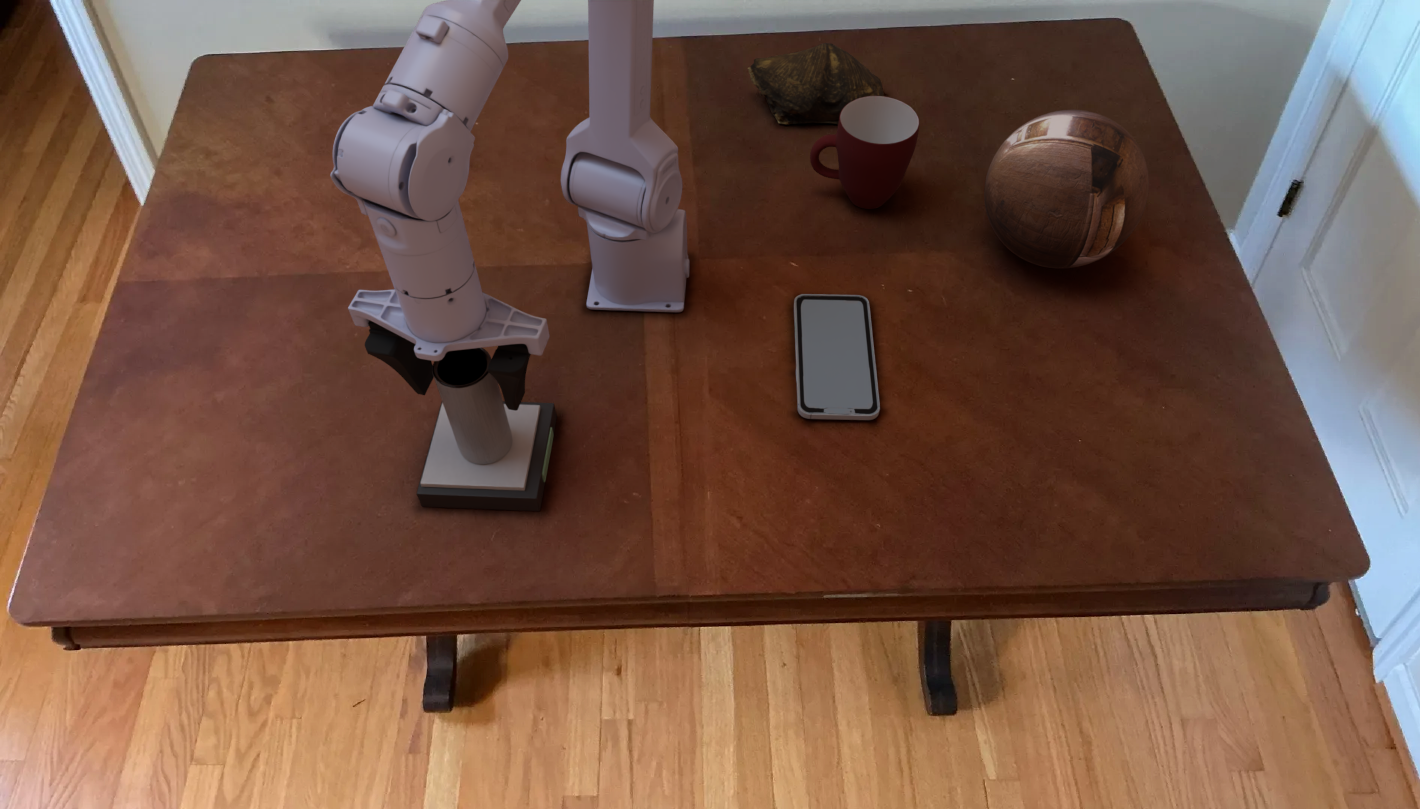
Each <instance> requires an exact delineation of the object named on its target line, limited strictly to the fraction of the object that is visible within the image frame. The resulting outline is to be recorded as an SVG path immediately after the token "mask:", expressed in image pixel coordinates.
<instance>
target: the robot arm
mask: <svg viewBox="0 0 1420 809" xmlns="http://www.w3.org/2000/svg"><path fill="white" fill-rule="evenodd" d="M521 2H522V0H441V1H437V2H433V3H431V4H429V5H427V6H426V7H425V8H424V9H423V11H422V13H421V15H420V17H419V19H418V20H417V22H416V24H415V26H414V28H413V30H412V31H411V34H410V36H409V37H408V39H407V41H406V43H405V45H404V46H403V49H402V51H401V52H400V54H399V56H398V58H397V60H396V62H395V64H394V65H393V67H392V69H391V71H390V72H389V75H388V77H387V79H386V81H385V82H384V84H383V86H382V88H381V90H380V91H379V93H378V95H377V97H376V99H375V101H374V102H373V104H372V105H370V106H367V107H365V108H363V109H361V110H358V111H355V112H354V113H351V114H350V115H349V116H348V117H346V119H345V120H344V121H343V122H342V123H341V125H340V127H339V128H338V130H337V132H336V135H335V138H334V140H333V146H332V163H333V169H332V171H331V172H330V175H329V176H330V179H331V181H332V183H333V184H334V186H335V187H336V188H337V189H338V190H339V191H340V192H341V193H343V194H345V195H347V196H349V197H352V198H353V199H355V201H356V202H357V205H358V208H359V210H360V213H361V214H362V215H365V216H367V217H368V220H369V222H370V226H371V228H372V230H373V234H374V236H375V240H376V242H377V245H378V248H379V251H380V253H381V255H382V258H383V261H384V264H385V267H386V270H387V272H388V275H389V278H390V282H391V283H392V286H393V288H391V289H384V290H383V289H382V290H381V289H380V290H368V289H358V290H357V291H356V294H355V295H354V297H353V298H352V299H351V302H350V303H349V305H348V307H347V310H348V312H349V315H350V317H351V319H352V321H353V324H354V326H356V327H360V328H361V327H362V328H369V329H368V333H369V334H368V336H367V338H366V339H365V341H364V348H365V350H366V352H367V354H368V355H369V356H372V357H375V358H376V359H378V360H380V361H382V362H383V363H384V364H386V365H387V366H389V367H390V368H391V369H393V370H394V371H395V372H396V373H398V375H399V376H400V377H401V378H402V379H403V380H404V381H405V382H406V383H407V384H408V385H409V386H410V388H411V389H412V390H413V391H414V392H415V393H416V394H417V395H420V396H421V395H422V396H426V394H427V391H428V390H429V388H430V386H431V384H432V382H433V380H434V376H433V373H432V367H433V362H434V361H439V360H442V359H443V358H444V356H445V354H446V353H447V352H448V351H455V350H464V349H473V348H491V347H497V348H496V349H495V350H494V352H493V355H492V356H491V361H490V363H489V366H488V368H487V370H488V373H490V374H491V375H492V376H493V377H494V378H495V379H496V381H497V382H498V385H499V389H500V391H501V394H502V398H503V401H505V404H506V406H507V408H508V409H509V410H515V411H516V410H518V408H519V406H520V403H521V402H523V398H524V396H525V394H526V378H527V377H526V375H527V370H528V365H529V361H530V359H531V355H533V356H534V355H535V356H541V357H542V356H543V355H544V351H545V349H546V347H547V345H548V342H549V340H550V338H551V336H550V331H549V325H548V320H547V318H544V317H539V316H536V315H532V314H529V313H527V312H524V311H522V310H520V309H518V308H516V307H514V306H512V305H510V304H508V303H506V302H504V301H501V300H499V299H497V298H496V297H494V296H491V295H490V294H488V293H486V292H483V290H482V285H481V281H480V277H479V274H478V270H477V266H476V263H475V262H476V261H475V258H474V255H473V254H474V253H473V251H472V247H471V243H470V239H469V235H468V232H467V228H466V223H465V220H464V217H463V213H462V209H461V205H460V201H459V200H460V198H461V196H462V195H463V194H464V193H465V189H466V187H467V184H468V179H469V174H470V165H471V164H470V161H471V155H472V151H473V150H474V148H475V144H474V142H475V140H476V137H475V135H474V134H473V133H472V130H473V128H474V126H475V124H476V122H477V121H478V119H479V117H480V115H481V113H482V111H483V108H484V107H485V105H486V103H487V101H488V99H489V97H490V96H491V93H492V91H493V90H494V87H495V86H496V83H497V82H498V79H499V78H500V76H501V74H502V72H503V71H504V68H505V66H506V64H507V63H508V60H509V49H508V45H507V42H506V38H505V34H504V28H505V26H506V25H507V24H508V21H509V20H510V19H511V17H512V15H513V14H514V13H515V10H516V9H517V7H518V6H519V4H520V3H521ZM654 8H655V0H587V17H588V18H587V19H588V23H587V25H588V26H587V27H588V32H587V33H588V34H587V35H588V104H589V106H588V109H589V112H588V114H589V116H588V117H587V118H586V119H584V120H582V121H581V122H579V123H578V124H577V125H576V126H575V127H573V129H572V130H571V131H570V133H569V134H568V135H567V137H566V139H565V140H566V141H565V142H566V147H565V148H566V149H565V156H564V161H563V163H562V166H561V171H560V188H561V191H562V192H561V193H562V196H563V198H564V200H565V201H566V203H568V204H570V205H573V206H577V212H578V217H580V218H582V219H583V220H584V221H585V222H586V228H587V237H588V244H589V252H590V259H591V260H590V261H591V268H592V269H591V274H590V280H589V287H588V292H587V299H586V304H585V305H586V308H587V309H588V310H596V311H624V312H625V311H626V312H627V311H629V312H653V313H654V312H655V313H656V312H657V313H681V312H683V311H684V309H685V298H686V288H687V278H688V279H689V277H690V266H691V265H690V264H691V263H690V261H691V260H690V258H689V255H688V227H687V226H688V225H687V211H686V210H685V209H682V208H681V209H680V208H679V206H680V204H681V200H682V195H683V185H684V184H683V178H682V174H681V171H680V166H679V147H678V146H677V144H676V143H675V142H674V141H673V140H672V139H671V137H669V135H668V134H666V133H665V131H663V129H662V128H660V126H658V124H657V123H656V122H655V121H654V120H653V119H652V117H651V98H652V97H651V95H652V68H653V40H654V37H653V36H654Z"/></svg>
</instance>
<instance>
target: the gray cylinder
mask: <svg viewBox="0 0 1420 809" xmlns="http://www.w3.org/2000/svg"><path fill="white" fill-rule="evenodd" d="M491 359H492V356H491V354H490V353H489V352H488V350H486V349H485V347H482V348H473V349H464V350H455V351H448V352H447V353H446V354H445V356H444V358H443V359H442V360H439V361H433V362H432V365H433V367H432V373H433V376H434V378H433V380H434V382H435V385H436V388H437V390H438V393H439V396H440V400H441V402H443V405H444V408H445V411H446V414H447V417H448V420H449V422H450V425H451V428H452V431H453V434H454V437H455V440H456V443H457V446H458V448H459V451H460V453H461V455H462V456H463V457H464V458H465V459H466V460H467V461H469V462H471V463H474V464H482V465H483V464H490V463H493V462H496V461H498V460H500V459H501V458H503V457H504V456H505V455H506V454H507V453H508V451H509V450H510V448H511V445H512V434H511V430H510V426H509V422H508V418H507V415H506V411H505V407H504V404H503V401H504V399H503V395H502V391H501V388H500V386H499V384H498V382H497V381H496V379H495V378H494V377H493V376H492V375H491V374H490V373H488V370H487V368H488V366H489V363H490V361H491Z"/></svg>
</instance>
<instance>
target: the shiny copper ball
mask: <svg viewBox="0 0 1420 809" xmlns="http://www.w3.org/2000/svg"><path fill="white" fill-rule="evenodd" d="M1149 176H1150V175H1149V169H1148V166H1147V162H1146V159H1145V156H1144V153H1143V152H1142V149H1141V147H1140V146H1139V144H1138V143H1137V141H1136V140H1135V138H1134V137H1133V136H1132V135H1131V133H1129V132H1128V131H1127V130H1126V128H1124V127H1123V126H1122V125H1120V123H1117V122H1116V121H1115V120H1113V119H1111V118H1110V117H1107V116H1105V115H1102V114H1100V113H1097V112H1093V111H1090V110H1089V111H1088V110H1084V109H1063V110H1062V109H1061V110H1056V111H1055V110H1054V111H1051V112H1048V113H1045V114H1042V115H1038V116H1037V117H1035V118H1032V119H1030V120H1028V121H1027V122H1025V123H1023V124H1022V125H1021V126H1019V127H1018V128H1017V129H1015V130H1014V131H1013V132H1012V133H1011V134H1010V135H1009V136H1007V137H1006V139H1005V140H1004V141H1003V142H1002V143H1001V145H1000V146H999V148H998V149H997V151H996V152H995V154H994V156H993V157H992V160H991V162H990V164H989V167H988V169H987V173H986V176H985V182H984V188H983V189H984V190H983V193H984V194H983V198H984V201H983V202H984V208H985V212H986V213H985V214H986V216H987V220H988V222H989V224H990V227H991V229H992V231H993V233H994V234H995V236H996V237H997V238H998V240H999V241H1000V242H1001V243H1002V244H1003V245H1004V247H1006V249H1007V250H1008V251H1009V252H1011V253H1013V254H1014V255H1015V256H1017V257H1018V258H1020V259H1022V260H1024V261H1025V262H1028V263H1030V264H1033V265H1035V266H1038V267H1039V266H1040V267H1043V268H1048V269H1073V268H1078V267H1084V266H1087V265H1089V264H1092V263H1095V262H1097V261H1099V260H1102V259H1103V258H1106V257H1107V256H1108V255H1110V254H1111V253H1113V252H1114V251H1116V250H1117V249H1118V248H1119V247H1120V246H1122V244H1124V243H1125V242H1126V241H1127V239H1129V237H1130V236H1131V235H1132V233H1133V232H1134V231H1135V229H1136V228H1137V226H1138V224H1139V223H1140V221H1141V219H1142V216H1143V214H1144V213H1145V210H1146V206H1147V203H1148V198H1149V190H1150V189H1149V188H1150V177H1149Z"/></svg>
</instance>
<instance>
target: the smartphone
mask: <svg viewBox="0 0 1420 809" xmlns="http://www.w3.org/2000/svg"><path fill="white" fill-rule="evenodd" d="M870 307H871V306H870V301H869V300H868V298H867V297H866V296H864V295H860V294H825V293H823V294H820V293H819V294H817V293H814V294H812V293H801V294H799V295H797V296H796V297H795V298H794V299H793V320H794V321H793V322H794V348H795V350H794V351H795V383H796V401H797V402H796V404H797V405H796V406H797V412H798V414H799V415H800V416H801V417H802V418H804V419H807V420H840V421H841V420H842V421H843V420H847V421H848V420H849V421H873V420H874V419H876V418H877V417H878V416H879V414H880V410H881V405H880V404H881V403H880V394H879V384H878V374H877V373H878V372H877V364H876V355H875V347H874V337H873V326H872V318H871V317H872V316H871V308H870Z"/></svg>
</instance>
